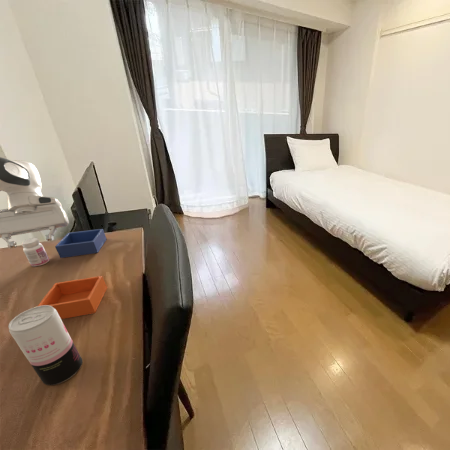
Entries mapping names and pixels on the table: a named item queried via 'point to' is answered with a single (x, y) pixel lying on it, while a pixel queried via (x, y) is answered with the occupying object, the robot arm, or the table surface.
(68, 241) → the blue bin
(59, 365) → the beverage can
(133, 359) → the table surface
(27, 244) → the pill bottle
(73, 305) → the terracotta bin
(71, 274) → the table surface
